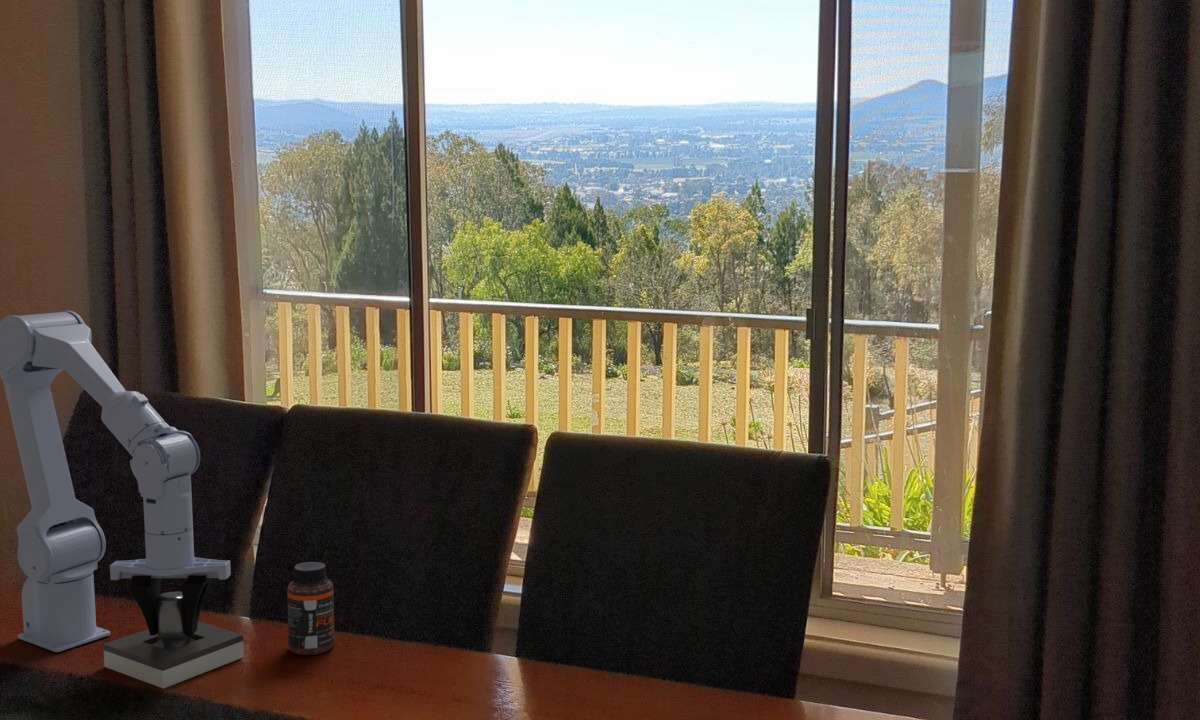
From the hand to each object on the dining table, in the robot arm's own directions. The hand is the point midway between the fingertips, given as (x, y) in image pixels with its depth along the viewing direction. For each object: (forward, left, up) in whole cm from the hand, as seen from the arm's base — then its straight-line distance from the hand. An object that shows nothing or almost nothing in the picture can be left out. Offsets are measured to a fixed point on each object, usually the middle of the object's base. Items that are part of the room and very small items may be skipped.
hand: (173, 632), depth 147 cm
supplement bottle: (+11, +13, -4) cm, 18 cm away
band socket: (0, 0, -4) cm, 4 cm away
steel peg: (0, 0, -3) cm, 3 cm away
